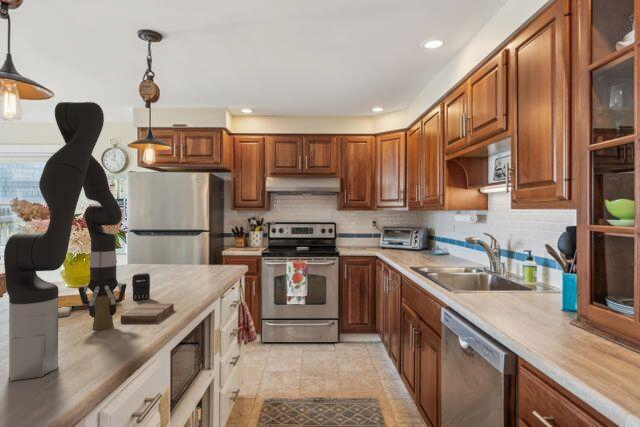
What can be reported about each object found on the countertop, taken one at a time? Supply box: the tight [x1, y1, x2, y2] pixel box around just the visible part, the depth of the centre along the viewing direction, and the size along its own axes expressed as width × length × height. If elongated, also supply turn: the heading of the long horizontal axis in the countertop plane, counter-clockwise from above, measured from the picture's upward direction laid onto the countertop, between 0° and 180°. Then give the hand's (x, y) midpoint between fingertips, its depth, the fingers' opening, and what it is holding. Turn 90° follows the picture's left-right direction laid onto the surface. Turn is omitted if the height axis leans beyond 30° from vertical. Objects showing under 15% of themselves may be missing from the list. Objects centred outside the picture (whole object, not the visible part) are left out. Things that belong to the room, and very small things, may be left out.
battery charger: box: [131, 272, 151, 301], centre depth 155 cm, size 7×4×11 cm, turn 111°
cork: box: [91, 295, 114, 332], centre depth 117 cm, size 6×6×11 cm
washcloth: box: [58, 307, 73, 318], centre depth 135 cm, size 12×18×3 cm, turn 30°
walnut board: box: [120, 303, 175, 324], centre depth 131 cm, size 16×12×2 cm
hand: (103, 315), depth 118 cm, fingers open, 5 cm apart
